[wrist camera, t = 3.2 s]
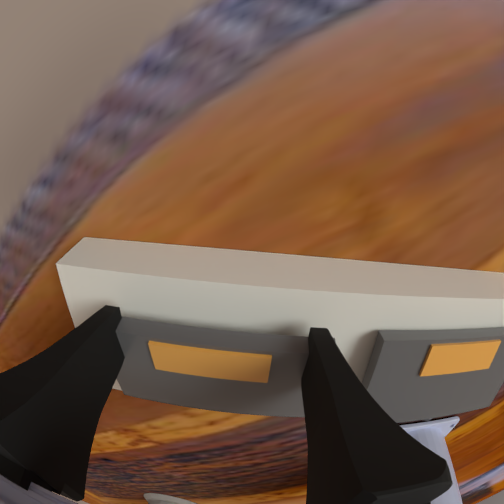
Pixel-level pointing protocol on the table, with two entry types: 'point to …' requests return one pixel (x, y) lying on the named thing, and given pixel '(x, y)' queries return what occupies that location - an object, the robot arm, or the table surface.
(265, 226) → the table surface
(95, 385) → the robot arm
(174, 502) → the french press
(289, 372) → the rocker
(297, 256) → the rocker switch panel
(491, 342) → the rocker
